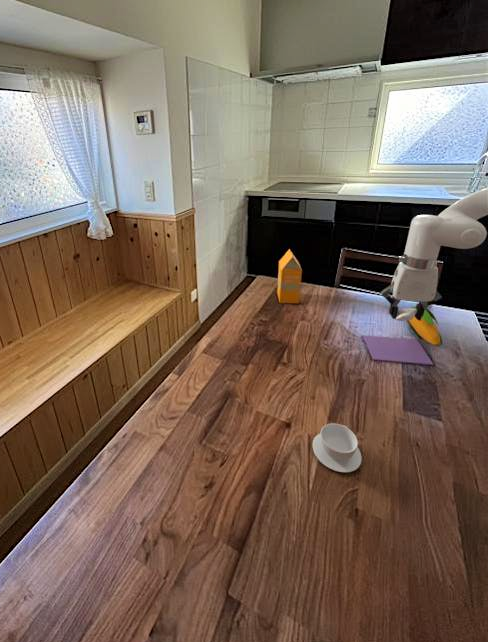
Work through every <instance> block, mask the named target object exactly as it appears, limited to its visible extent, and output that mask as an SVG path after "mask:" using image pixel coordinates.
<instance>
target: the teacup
mask: <svg viewBox="0 0 488 642" xmlns="http://www.w3.org/2000/svg"><path fill="white" fill-rule="evenodd" d="M358 445H359V442H358V438H357V436H356V435H355V433H354V432H353V431H352V430H351V429H350V428H348V426H346V425H343V424H339V423H327V424H325V425H324V426H323V427H322V428H321V430H320V433H317V435H316V436H315V437H314V438H313V440H312V451H313V453H314V455H315V456H316V459H318V461H319V462H320V463H321V464H323V465H324V466H325V467H327V468H328V469H330V470H333V471H335V472H340V473H351V472H354V471H356V470H357V469H358V468H359V467H360V466H361V464H362V460H363V459H362V458H363V457H362V454H361V453H362V452H361V451H360V448H359V447H358Z"/></svg>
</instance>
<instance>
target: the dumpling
mask: <svg viewBox="0 0 488 642" xmlns="http://www.w3.org/2000/svg"><path fill="white" fill-rule="evenodd" d="M416 313H417V309H413V308H412V307H411V308H410V307H409V308H400V309H398V312H397V317H396V318H395V319H394V320H395V321H400V322H405V321H407V320H412V319H413V318H414V316H415V314H416Z"/></svg>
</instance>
